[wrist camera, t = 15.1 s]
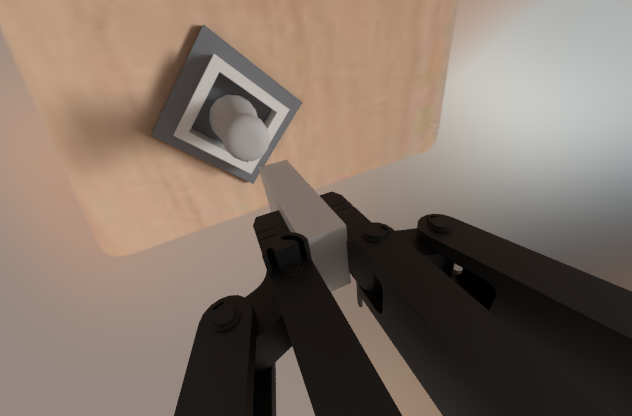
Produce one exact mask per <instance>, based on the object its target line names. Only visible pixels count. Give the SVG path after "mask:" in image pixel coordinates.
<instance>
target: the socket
mask: <svg viewBox="0 0 632 416" xmlns="http://www.w3.org/2000/svg"><path fill="white" fill-rule="evenodd" d="M225 95H238V96H241V97H242V98H244V99H246V100H248V101H249V102H250V103H251V104H252V106H253V107H254V108H255V110H256V112H257V116H258V118H259V119H261V120H262V122H263V123H264V124H265V126H266V127H267V129H268V133H269V137H270V142H269V147H268V150H267V151H266V152H265V154H264V155H263V156H262V157H261V158H259V159H257V160H255V161H244V162H243V161H241V160H239V159H236V158H234V157H233V156H232V155H231V154H230V153H229V152H228V151H227V150H226V149H225V148H224V144H223V141H222V139H220V138H219V137H218V136H217V135H216V134H215V133H214V132H213V130H212V127H211V124H210V121H209V116H210V108H211V107H212V105H213V104H214V103H215V101H216V100H217V99H219V98H221V97H223V96H225ZM301 104H302V102H301V101H300V100H298V99H297V98H296V97H295V96H293V95H292V94H291V93H290V92H288V91H287V90H286V89H284V88H283V87H282V86H281V85H279V84H278V83H277V82H276V81H274V80H273V79H272V78H271V77H269V76H268V75H267V74H266V73H264V72H263V71H262V70H260V69H259V68H258V67H257V66H255V65H254V64H253V63H252V62H250V61H249V60H248V59H247V58H245V57H244V56H243V55H241V54H240V53H239V52H238V51H236V50H235V49H234V48H233V47H231V46H230V45H229V44H228V43H226V42H225V41H224V40H223V39H221V38H220V37H219V36H217V35H216V34H215V33H214V32H212V31H211V30H210V29H209V28H207V27H206V26H205V25H204V24H203V26H202V28H201V31H200V33H199V35H198V37H197V39H196V41H195V43H194V45H193V47H192V50H191V52H190V54H189V56H188V58H187V60H186V62H185V64H184V67H183V69H182V71H181V73H180V75H179V77H178V79H177V81H176V83H175V86H174V88H173V90H172V92H171V94H170V96H169V98H168V100H167V103H166V105H165V107H164V109H163V111H162V113H161V115H160V117H159V119H158V122H157V124H156V126H155V128H154V130H153V132H152V134H151V136H153V137H155V138H157V139H159V140H162V141H164V142H166V143H168V144H170V145H172V146H174V147H176V148H179V149H181V150H183V151H185V152H187V153H189V154H191V155H193V156H195V157H198V158H200V159H202V160H204V161H206V162H208V163H210V164H212V165H215V166H217V167H219V168H221V169H223V170H225V171H227V172H229V173H231V174H234V175H236V176H238V177H240V178H242V179H244V180H246V181H248V182H251V183H254V182H255V180H256V178H257V177H258V175H259V173H260V170H259V167H262V166H264V165H265V163H266V162H267V160H268V158H269V157H270V155H271V153H272V152H273V150H274V148H275V147H276V145H277V143H278V142H279V140H280V138H281V137H282V135H283V133H284V132H285V130H286V129H287V127H288V125H289V124H290V122H291V120H292V119H293V117H294V115H295V114H296V112H297V110H298V109H299V107H300V105H301Z"/></svg>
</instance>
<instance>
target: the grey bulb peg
mask: <svg viewBox="0 0 632 416" xmlns="http://www.w3.org/2000/svg"><path fill="white" fill-rule="evenodd" d="M209 121H210V124H211V127H212V130H213V132H214V133H215V134H216V135H217V136H218V137H219V138H220V139H222V141H223V144H224V148H225V149H226V150H227V151H228V152H229V153H230V154H231V155H232V156H233V157H234V158H236V159H239V160H241V161H243V162H244V161H255V160H257V159H259V158H261V157H262V156H263V155H264V154H265V152H266V151H267V150H268V147H269V142H270V137H269V133H268V129H267V127H266V126H265V124H264V123H263V122H262V120H261V119H259V118H258V116H257V112H256V110H255V108H254V107H253V106H252V104H251V103H250V102H249V101H248V100H246V99H244V98H242V97H241V96H238V95H225V96H223V97H221V98H219V99H217V100H216V101H215V103H214V104H213V105H212V107H211V108H210V116H209Z"/></svg>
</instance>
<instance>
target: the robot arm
mask: <svg viewBox="0 0 632 416" xmlns="http://www.w3.org/2000/svg"><path fill="white" fill-rule="evenodd" d="M259 170H260V174H261V177H262V181H263V184H264V188H265V191H266V195H267V198H268V202H269V206H270V209H271V213H268V214H265V215H262V216H259V217H256V219H255V222H254V225H253V227H254V230H255V233H256V236H257V239H258V242H259V245H260V248H261V251H262V257H263V260H264V262H265V265H266V268H267V273H266V277H265V279H264V281H263V282H262V283H261V285H260V286H259V287H258V288H257V289H256V290H254V291H253V292H252V293H250V294H249V295H248V296H246V297H242V296H239V295H234V296H227V297H225V298H222V299H219V300H218V301H217V302H215V303H214V304H212V305H211V306H210V307H209V308H208V309H207V310H206V312H205V313H204V314H203V316H202V318H201V320H200V322H199V325H198V329H197V332H196V337H195V340H194V344H193V347H192V351H191V355H190V358H189V362H188V366H187V370H186V373H185V377H184V381H183V384H182V388H181V391H180V396H179V399H178V403H177V406H176V410H175V414H174V416H276V371H275V370H276V368H275V362H276V361H277V360H278V359H279V358H280V357H281V356H282V355H283V354H284V353H285V352H286V351H287V350H289V348H291V347H292V346H293V349H294V352H295V355H296V358H297V361H298V365H299V368H300V371H301V374H302V376H303V380H304V383H305V386H306V388H307V392H308V395H309V398H310V401H311V404H312V407H313V410H314V413H315V416H402V415H401V413H400V411H399V409H398V408H397V406H396V404H395V403H394V401H393V399H392V397H391V396H390V394H389V392H388V390H387V389H386V387H385V385H384V384H383V382H382V380H381V378H380V377H379V375H378V373H377V372H376V370H375V368H374V366H373V364H372V363H371V361H370V359H369V358H368V356H367V354H366V353H365V351H364V349H363V347H362V346H361V344H360V342H359V340H358V339H357V337H356V335H355V333H354V332H353V330H352V328H351V327H350V325H349V323H348V321H347V320H346V318H345V316H344V315H343V313H342V311H341V309H340V308H339V306H338V304H337V302H336V301H335V299H334V297H333V296H332V294H331V291H333V290H336V289H338V288H340V287H342V286H344V285H347V284H349V283H351V280H350V273H351V275H352V276H353V277H354V279H355V280H356V282H357V300H358V304H359V307H362V299H363V301H364V302H365V304H366V305H367V306H368V308H369V309H370V311H371V312H372V314H373V315H374V317H375V318H376V319H377V321H378V322H379V324H380V325H381V327H382V328H383V329H384V331H385V332H386V334H387V335H388V337H389V338H390V340H391V341H392V343H393V344H394V346H395V347H396V348H397V350H398V351H399V353H400V354H401V356H402V357H403V358H404V360H405V361H406V363H407V364H408V366H409V367H410V369H411V370H412V372H413V373H414V374H415V376H416V377H417V379H418V380H419V382H420V383H421V385H422V386H423V387H424V389H425V390H426V392H427V393H428V395H429V396H430V398H431V399H432V401H433V402H434V403H435V405H436V406H437V408H438V409H439V411H440V412H441V414H442V415H443V416H632V292H631V291H629V290H626V289H624V288H622V287H619V286H617V285H614V284H612V283H610V282H607V281H605V280H602V279H600V278H597V277H595V276H593V275H590V274H588V273H585V272H583V271H581V270H578V269H576V268H573V267H571V266H568V265H566V264H563V263H561V262H559V261H556V260H554V259H552V258H549V257H546V256H544V255H542V254H539V253H537V252H535V251H532V250H530V249H527V248H525V247H522V246H520V245H518V244H515V243H512V242H510V241H508V240H506V239H503V238H501V237H498V236H496V235H493V234H491V233H489V232H486V231H484V230H481V229H479V228H477V227H474V226H472V225H469V224H467V223H464V222H462V221H460V220H457V219H455V218H452V217H449V216H446V215H441V214H430V215H426V216H424V217H421V218H420V219H419V221H418V225H417V228H416V229H407V230H399V231H394V230H393V229H392V228H390V227H389V226H387V225H385V224H382V223H371V222H370V221H369V220H368V219H367V218H366V217H365V216H364V215H363V214H361V213H360V212H359V211H358V210H357V209H356V208H355V207H353V206H352V204H351V203H350V202H348V201H347V200H346V199H345V198H344V197H343V196H342V195H340V194H337V193H334V192H329V193H326V194H323V195H320V196H319V195H318V194H317V193H316V192H315V191H314V189H313V188H312V187H311V186H310V185H309V184H308V183H307V182H306V181H305V180H304V179H303V177H302V176H301V175H300V174H299V173H298V172H297V171H296V170H295V169H294V168H293V167H292V165H291V164H290V163H289V162H288V161H287V160H284V161H281V162H277V163H273V164H270V165H266V166H262V167H259ZM454 264H457V265H459V266H461V267H462V268H463V270H462V271H456V270H454V269H453V268H454Z"/></svg>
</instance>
